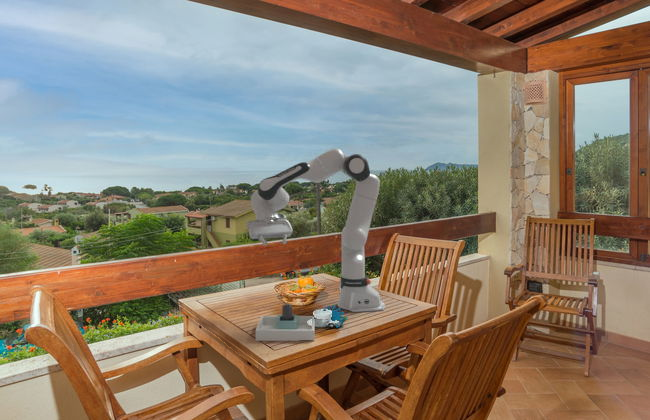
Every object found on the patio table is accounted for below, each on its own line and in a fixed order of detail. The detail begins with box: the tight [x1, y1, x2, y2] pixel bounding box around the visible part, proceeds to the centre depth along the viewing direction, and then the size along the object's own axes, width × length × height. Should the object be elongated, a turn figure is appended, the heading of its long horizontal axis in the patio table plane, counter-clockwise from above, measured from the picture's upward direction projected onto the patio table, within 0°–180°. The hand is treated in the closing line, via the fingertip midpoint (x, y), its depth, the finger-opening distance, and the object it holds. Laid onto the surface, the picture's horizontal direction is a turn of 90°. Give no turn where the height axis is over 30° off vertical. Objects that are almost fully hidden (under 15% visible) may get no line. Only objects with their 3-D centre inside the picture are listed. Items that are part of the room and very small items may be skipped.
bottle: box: [281, 302, 293, 321], centre depth 164 cm, size 4×4×10 cm
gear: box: [322, 304, 348, 329], centre depth 171 cm, size 11×6×10 cm
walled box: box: [255, 314, 316, 342], centre depth 162 cm, size 22×16×5 cm
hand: (275, 244), depth 183 cm, fingers open, 8 cm apart
